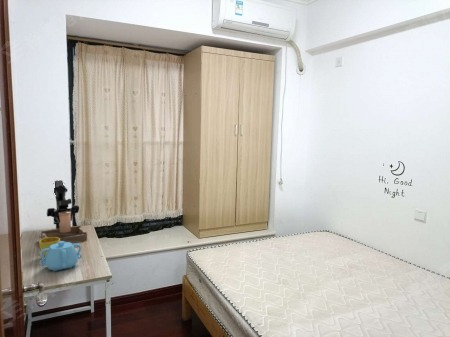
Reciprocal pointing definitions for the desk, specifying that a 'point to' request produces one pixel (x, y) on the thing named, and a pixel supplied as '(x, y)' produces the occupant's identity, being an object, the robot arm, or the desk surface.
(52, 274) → the desk surface
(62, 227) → the terracotta pot
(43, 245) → the plant pot
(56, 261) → the decorative pot
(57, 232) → the frame
